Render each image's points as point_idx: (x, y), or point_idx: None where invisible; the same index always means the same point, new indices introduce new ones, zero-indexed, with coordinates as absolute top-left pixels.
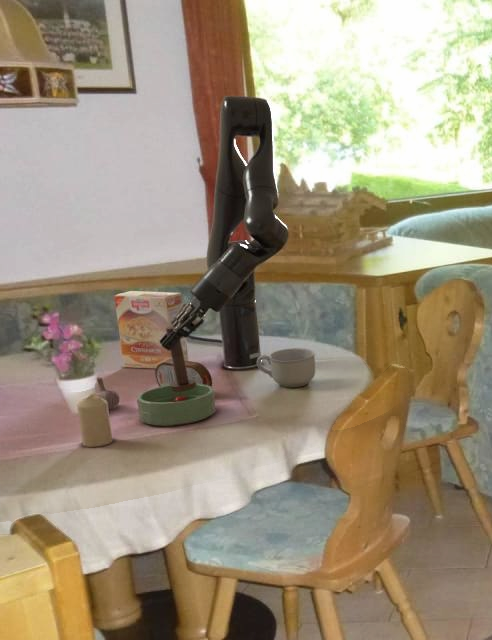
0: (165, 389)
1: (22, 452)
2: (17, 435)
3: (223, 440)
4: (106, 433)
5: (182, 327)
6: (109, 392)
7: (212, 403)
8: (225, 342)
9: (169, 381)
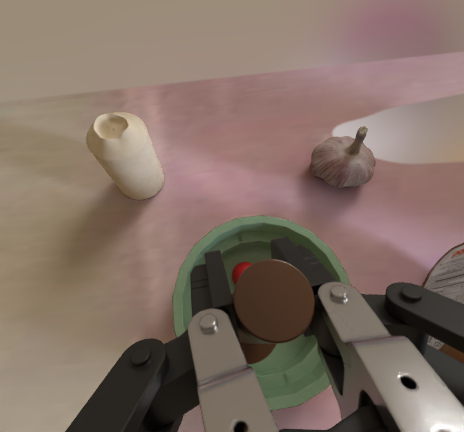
0: (332, 271)
1: (145, 97)
2: (232, 83)
3: (25, 424)
4: (118, 186)
5: (86, 414)
6: (341, 163)
7: None
8: None
9: (449, 271)
